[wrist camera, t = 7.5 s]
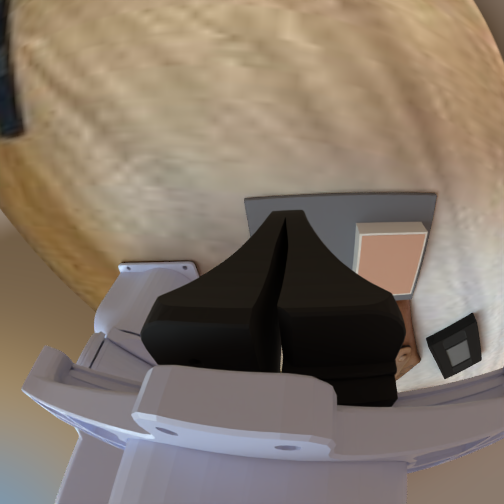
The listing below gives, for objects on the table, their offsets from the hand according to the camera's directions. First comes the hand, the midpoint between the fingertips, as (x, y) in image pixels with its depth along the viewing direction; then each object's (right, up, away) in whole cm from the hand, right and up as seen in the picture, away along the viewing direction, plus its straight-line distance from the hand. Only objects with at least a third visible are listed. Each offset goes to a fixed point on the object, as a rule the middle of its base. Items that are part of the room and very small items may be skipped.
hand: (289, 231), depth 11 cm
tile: (+7, -2, +11) cm, 13 cm away
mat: (+7, -1, +12) cm, 14 cm away
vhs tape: (+29, -15, +20) cm, 38 cm away
